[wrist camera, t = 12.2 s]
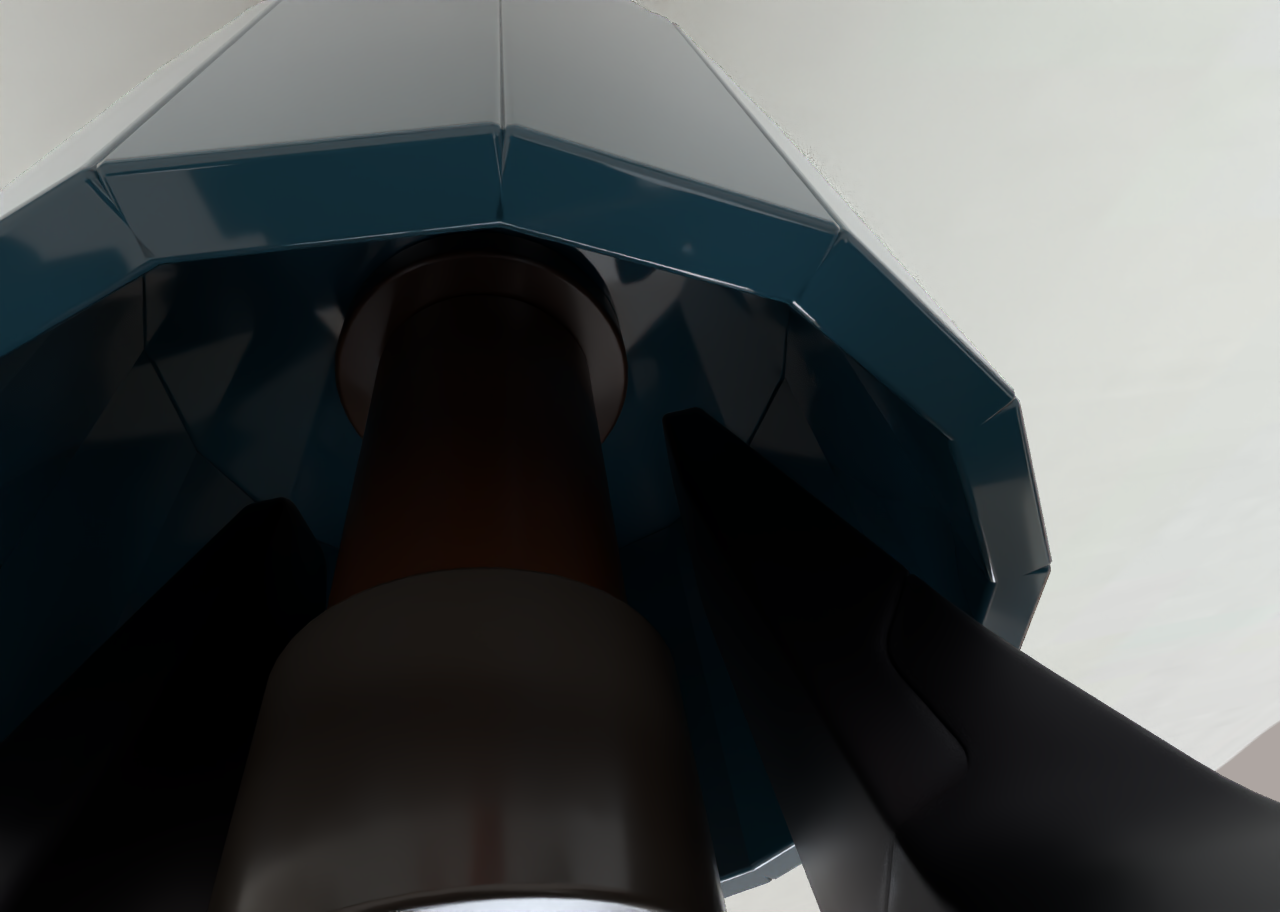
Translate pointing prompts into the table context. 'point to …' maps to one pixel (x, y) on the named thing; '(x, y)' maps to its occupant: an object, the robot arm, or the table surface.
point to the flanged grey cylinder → (475, 628)
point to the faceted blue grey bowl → (449, 204)
